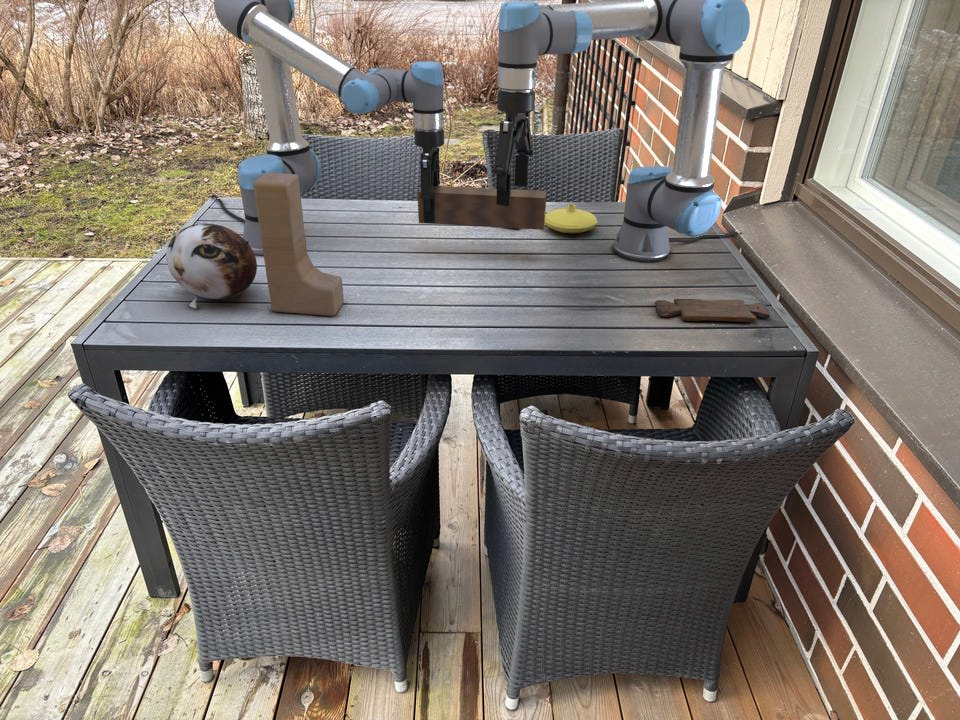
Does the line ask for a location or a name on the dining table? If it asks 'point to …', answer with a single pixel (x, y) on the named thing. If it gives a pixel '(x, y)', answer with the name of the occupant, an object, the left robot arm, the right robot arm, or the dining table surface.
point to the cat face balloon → (211, 261)
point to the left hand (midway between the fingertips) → (431, 217)
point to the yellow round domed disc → (570, 220)
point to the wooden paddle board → (712, 310)
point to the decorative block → (291, 251)
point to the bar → (486, 208)
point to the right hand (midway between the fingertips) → (512, 195)
